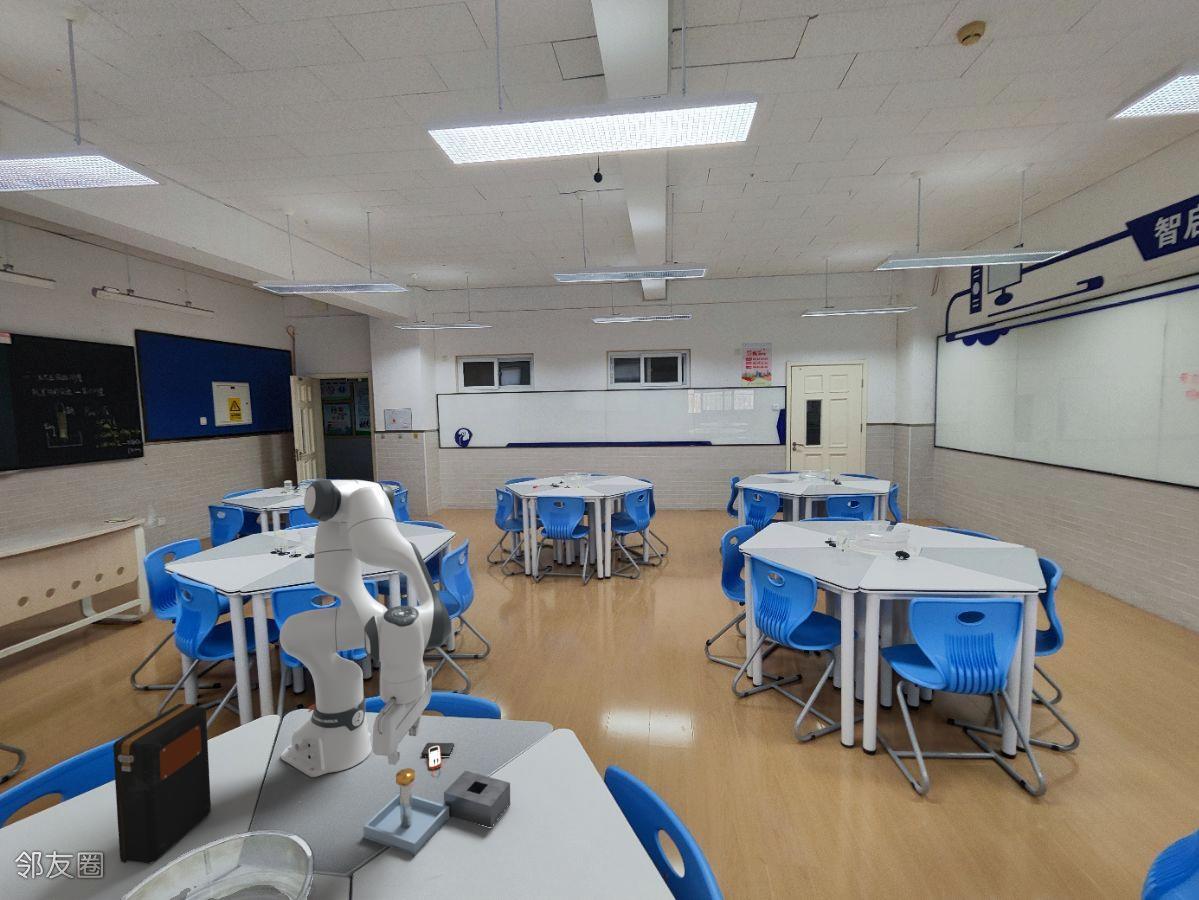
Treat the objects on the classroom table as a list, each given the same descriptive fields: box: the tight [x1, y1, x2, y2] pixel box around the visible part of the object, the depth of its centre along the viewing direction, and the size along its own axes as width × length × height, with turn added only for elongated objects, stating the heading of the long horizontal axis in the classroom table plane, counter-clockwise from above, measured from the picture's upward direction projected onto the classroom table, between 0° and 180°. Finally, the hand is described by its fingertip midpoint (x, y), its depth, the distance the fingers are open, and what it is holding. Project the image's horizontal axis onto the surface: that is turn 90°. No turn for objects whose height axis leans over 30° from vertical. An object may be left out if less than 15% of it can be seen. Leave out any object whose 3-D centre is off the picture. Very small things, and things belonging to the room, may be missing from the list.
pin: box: [395, 767, 416, 829], centre depth 117 cm, size 4×4×11 cm
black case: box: [112, 703, 212, 864], centre depth 114 cm, size 16×9×25 cm, turn 173°
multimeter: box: [412, 742, 455, 787], centre depth 137 cm, size 18×12×3 cm, turn 174°
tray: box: [362, 792, 450, 856], centre depth 117 cm, size 13×11×2 cm
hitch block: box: [443, 770, 511, 828], centre depth 122 cm, size 12×8×5 cm, turn 69°
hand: (404, 747), depth 116 cm, fingers open, 8 cm apart
